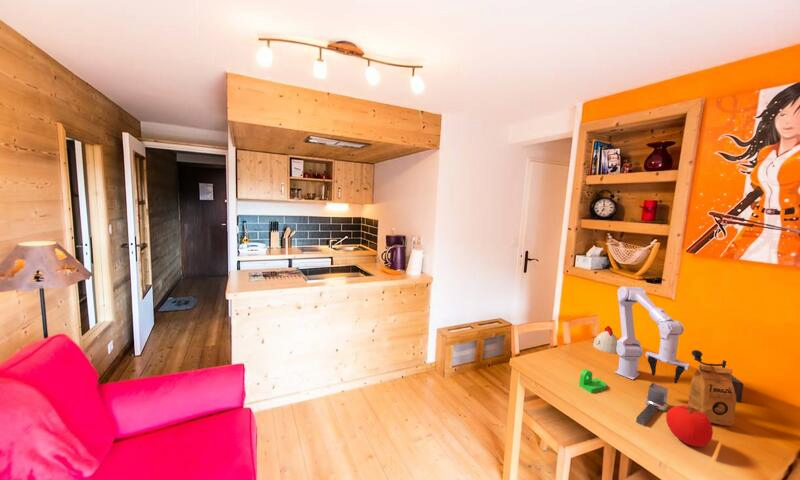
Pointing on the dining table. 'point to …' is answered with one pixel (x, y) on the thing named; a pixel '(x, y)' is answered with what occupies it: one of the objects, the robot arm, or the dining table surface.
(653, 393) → the grey square block
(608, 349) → the kitchen timer
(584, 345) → the dining table surface
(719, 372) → the coffee package
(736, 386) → the manual coffee grinder
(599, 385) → the mechanical part
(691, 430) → the tomato
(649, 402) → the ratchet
